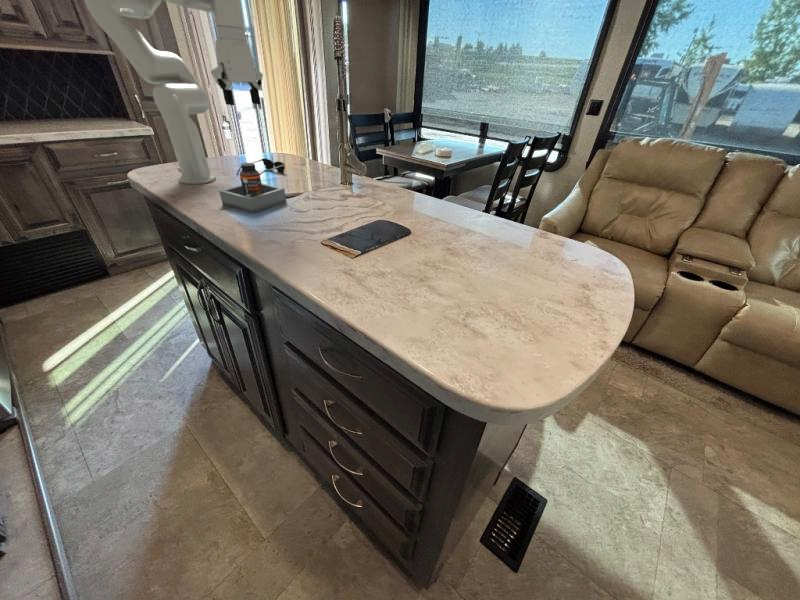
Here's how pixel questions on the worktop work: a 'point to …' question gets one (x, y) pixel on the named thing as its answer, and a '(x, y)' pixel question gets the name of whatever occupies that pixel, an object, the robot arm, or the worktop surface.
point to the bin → (253, 198)
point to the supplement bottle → (250, 180)
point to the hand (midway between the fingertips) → (243, 104)
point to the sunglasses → (270, 166)
